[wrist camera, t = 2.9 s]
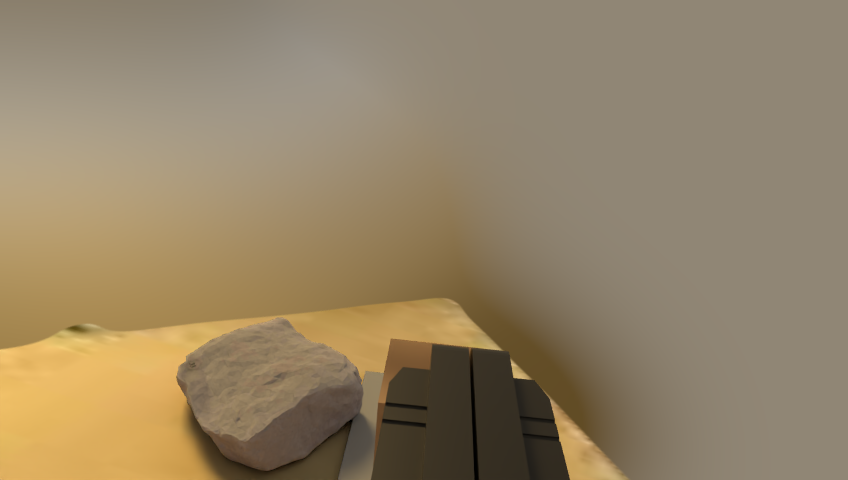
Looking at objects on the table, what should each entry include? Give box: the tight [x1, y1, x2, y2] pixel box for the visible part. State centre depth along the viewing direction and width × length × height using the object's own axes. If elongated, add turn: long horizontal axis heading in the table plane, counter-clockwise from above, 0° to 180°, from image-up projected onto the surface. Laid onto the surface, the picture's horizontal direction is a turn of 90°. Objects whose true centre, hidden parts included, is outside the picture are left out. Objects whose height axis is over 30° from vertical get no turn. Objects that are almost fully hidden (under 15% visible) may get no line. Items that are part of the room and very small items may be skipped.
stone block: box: [177, 318, 364, 471], centre depth 38 cm, size 12×5×10 cm
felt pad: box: [338, 371, 384, 480], centre depth 37 cm, size 13×10×1 cm
